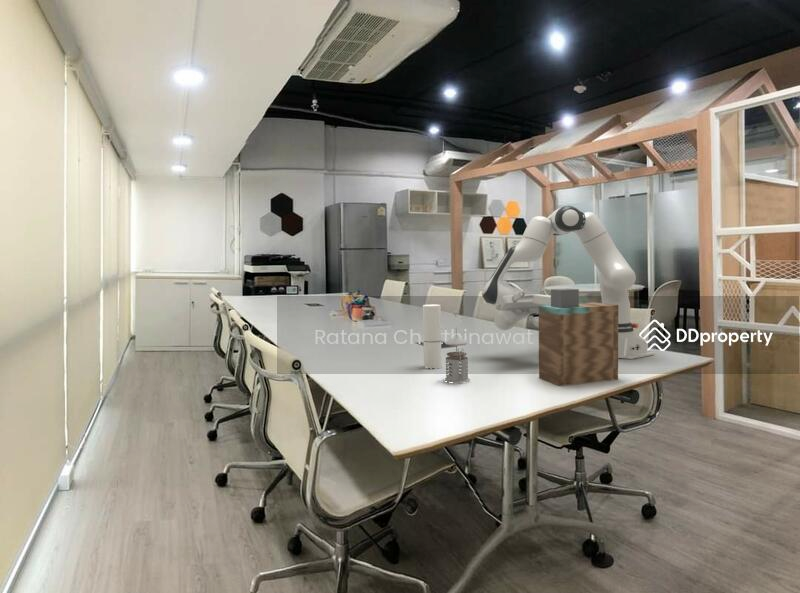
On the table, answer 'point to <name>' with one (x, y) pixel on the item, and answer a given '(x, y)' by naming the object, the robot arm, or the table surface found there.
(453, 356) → the french press
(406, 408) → the table surface
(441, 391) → the table surface
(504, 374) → the table surface
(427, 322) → the cylindrical container
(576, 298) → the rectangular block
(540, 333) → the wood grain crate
